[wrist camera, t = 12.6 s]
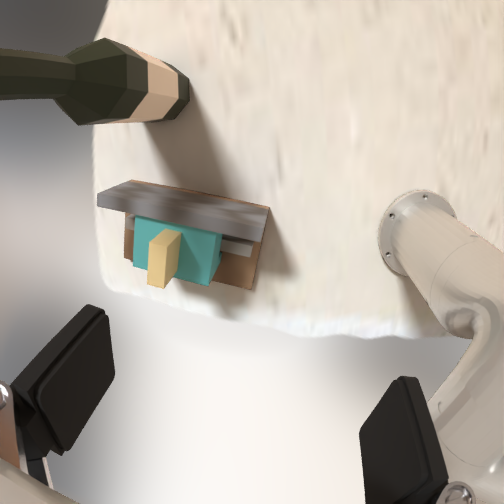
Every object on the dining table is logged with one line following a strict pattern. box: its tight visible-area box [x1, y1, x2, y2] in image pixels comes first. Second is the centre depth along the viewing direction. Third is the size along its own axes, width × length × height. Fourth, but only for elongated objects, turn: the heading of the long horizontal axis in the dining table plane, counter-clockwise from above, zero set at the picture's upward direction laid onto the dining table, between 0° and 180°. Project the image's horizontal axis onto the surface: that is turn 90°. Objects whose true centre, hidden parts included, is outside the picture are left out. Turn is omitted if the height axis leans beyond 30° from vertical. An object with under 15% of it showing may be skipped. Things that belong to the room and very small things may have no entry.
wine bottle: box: [0, 38, 189, 125], centre depth 23 cm, size 8×8×30 cm
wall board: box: [97, 180, 269, 290], centre depth 39 cm, size 20×12×9 cm, turn 79°
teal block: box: [133, 215, 223, 289], centre depth 37 cm, size 10×7×12 cm
